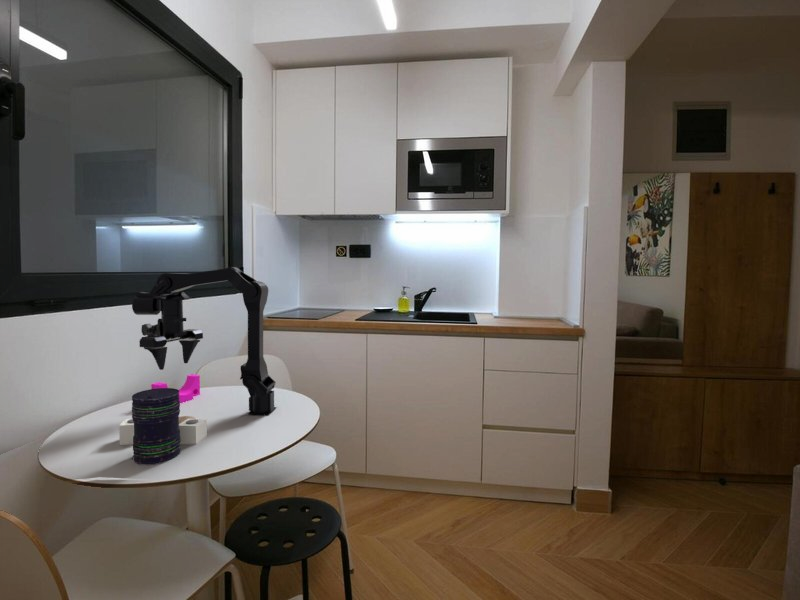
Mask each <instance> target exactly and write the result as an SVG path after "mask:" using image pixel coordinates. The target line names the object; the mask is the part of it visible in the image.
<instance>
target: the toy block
mask: <svg viewBox="0 0 800 600" xmlns="http://www.w3.org/2000/svg"><path fill="white" fill-rule="evenodd" d="M200 380H201V379H200V375H199V374H188V375H186V379H185V382H184V383H183V384H182V385H183V386H181V387H180V388H179V389H178V390H179V401H180V403H181V404H184V403H186V401H187V402H190V401H192V399H193V400H194V398H195V397H197V396H200V395H201V381H200ZM150 386H151V387H150V388H151V389H157V388H169V387H168V384H167V383H166V382H165V383H164V382H159V381H158V382H153V383H151V385H150ZM183 402H184V403H183Z"/></svg>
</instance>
